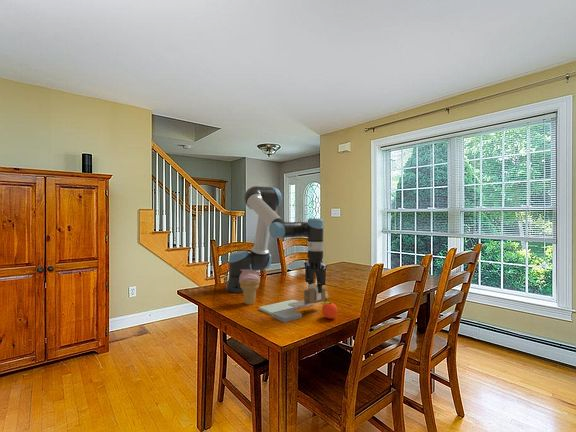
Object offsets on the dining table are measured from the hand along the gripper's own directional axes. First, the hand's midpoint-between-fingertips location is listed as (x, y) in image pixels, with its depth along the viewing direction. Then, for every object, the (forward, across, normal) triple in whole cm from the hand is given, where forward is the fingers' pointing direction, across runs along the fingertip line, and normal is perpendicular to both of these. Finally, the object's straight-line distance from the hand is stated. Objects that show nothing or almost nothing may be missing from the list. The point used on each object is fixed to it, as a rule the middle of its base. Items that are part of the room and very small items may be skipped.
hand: (315, 298), depth 147 cm
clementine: (+6, +12, -3) cm, 14 cm away
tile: (+5, 0, -12) cm, 13 cm away
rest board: (+6, -12, -10) cm, 17 cm away
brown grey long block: (+2, 0, -5) cm, 5 cm away
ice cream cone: (+6, -29, -19) cm, 35 cm away
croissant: (+6, -18, +19) cm, 27 cm away
